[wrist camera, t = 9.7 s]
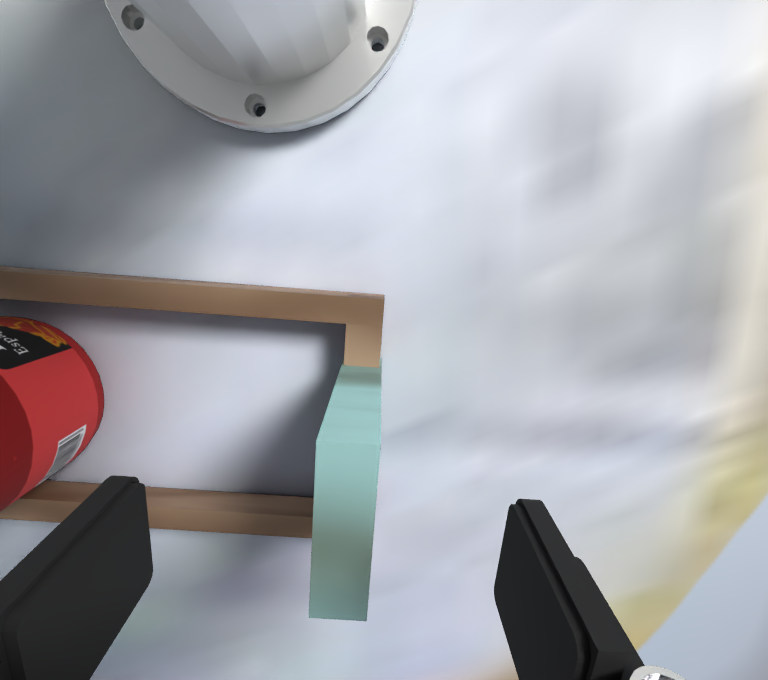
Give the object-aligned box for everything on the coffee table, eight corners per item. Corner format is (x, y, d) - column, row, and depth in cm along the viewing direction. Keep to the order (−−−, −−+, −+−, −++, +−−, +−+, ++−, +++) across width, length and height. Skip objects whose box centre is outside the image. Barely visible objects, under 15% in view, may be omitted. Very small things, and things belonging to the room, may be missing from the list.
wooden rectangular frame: (-106, 258, 19) (-509, 271, 11) (386, 295, 20) (388, 337, 11) (-62, 493, 22) (-353, 658, 13) (369, 521, 23) (360, 698, 14)
